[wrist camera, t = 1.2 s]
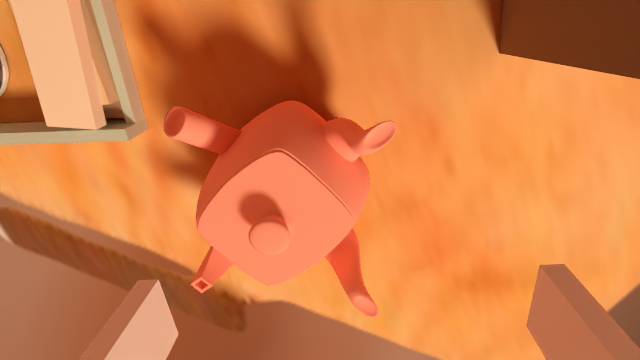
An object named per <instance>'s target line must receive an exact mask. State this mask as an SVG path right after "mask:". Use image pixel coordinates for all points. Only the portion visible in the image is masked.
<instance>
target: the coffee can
mask: <svg viewBox="0 0 640 360" xmlns="http://www.w3.org/2000/svg"><path fill="white" fill-rule="evenodd" d="M8 79H9V69H8V63H7V59H6V56H5V53H4V51H3V49H2V47H1V45H0V96H1V95H2V94H3V93H4V91H5V90H6V86H7V84H8Z"/></svg>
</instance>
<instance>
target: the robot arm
mask: <svg viewBox="0 0 640 360" xmlns="http://www.w3.org/2000/svg"><path fill="white" fill-rule="evenodd" d="M526 326H527V328H528V329H529V331H530V333H531V335H532V336H533V338H534V340H535V341H536V343H537V345H538V346H539V348H540V350H541V351H542V353H543V355H544V356H545V358H546V360H640V349H639V348H638V347H637V346H636V344H635V343H634V342H633V341H632V340H631V339H630V338H629V337H628V336H627V335H626V333H625V332H624V331H623V330H622V329H621V328H620V326H619V325H618V324H617V323H616V322H615V321H614V320H613V319H612V318H611V316H610V315H609V314H608V313H607V312H606V311H605V310H604V308H603V307H602V306H601V305H600V304H599V303H598V302H597V301H596V299H595V298H594V297H593V296H592V295H591V294H590V293H589V292H588V290H587V289H586V288H585V287H584V286H583V285H582V284H581V283H580V281H579V280H578V279H577V278H576V277H575V276H574V275H573V274H572V272H571V271H570V270H569V269H568V268H567V267H566V266H565V265H564V264H557V265H540V266H539V270H538V275H537V279H536V284H535V289H534V293H533V298H532V302H531V307H530V311H529V316H528V320H527V325H526ZM177 336H178V331H177V328H176V326H175V323H174V320H173V318H172V315H171V312H170V310H169V307H168V304H167V301H166V299H165V296H164V293H163V291H162V288H161V285H160V282H159V280H138V281H137V283H136V284H135V285H134V287H133V288H132V289H131V291H130V292H129V294H128V295H127V296H126V297H125V299H124V300H123V301H122V303H121V304H120V305H119V307H118V308H117V309H116V311H115V312H114V314H113V315H112V316H111V318H110V319H109V320H108V321H107V323H106V324H105V325H104V327H103V328H102V329H101V331H100V332H99V333H98V335H97V336H96V337H95V339H94V340H93V341H92V343H91V344H90V345H89V347H88V348H87V349H86V351H85V352H84V353H83V355H82V356H81V357H80V359H79V360H166V358H167V356H168V354H169V352H170V350H171V348H172V346H173V344H174V342H175V340H176V338H177Z"/></svg>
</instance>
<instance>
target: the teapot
mask: <svg viewBox="0 0 640 360" xmlns="http://www.w3.org/2000/svg"><path fill="white" fill-rule="evenodd" d="M396 131H397V124H396V123H395V122H393V121H385V122H382V123H379V124H377V125H375V126H373V127H371V128H369V129H367V130H363V129H362V128H361V127H360V126H359V125H358V124H357V123H355V122H353V121H352V120H349V119H346V118H336V119H333V120H330V121H328V122H327V121H325V120H324V119H323V118H322V117H321V116H320V115H319V114H317V113H316V112H315V111H313V110H312V109H311V108H310V107H308V106H307V105H305V104H303V103H301V102H299V101H285V102H282V103H279V104H277V105H275V106H273V107H271V108H269V109H268V110H266V111H264V112H263V113H261V114H260V115H258V116H257V117H255V118H254V119H252V120H251V121H250V122H249V123H247V124H246V125H245V126H244V127H242V128H241V129H240V130H238V129H236V128H233V127H231V126H228V125H226V124H223V123H221V122H218V121H216V120H213V119H211V118H209V117H206V116H204V115H201V114H199V113H196V112H194V111H192V110H189V109H187V108H184V107H182V106H179V105H178V106H174V107H172V108H171V109H170V110H169V112H168V113H167V115H166V117H165V120H164V132H165V134H166V135H167V136H168V137H171V138H174V139H176V140H179V141H182V142H185V143H188V144H191V145H194V146H197V147H199V148H202V149H205V150H208V151H211V152H214V153H217V154H219V156H218V157H217V159H216V161H215V162H214V164H213V166H212V168H211V169H210V171H209V173H208V175H207V177H206V179H205V181H204V184H203V186H202V188H201V191H200V195H199V199H198V203H197V211H196V229H197V232H198V233H199V234H200V236H202V237H203V238H204V239H205V240H206V241H207V242H208V243H209V244H210V245H211V247H210V249H209V251H208V253H207V255H206V257H205V258H204V260H203V262H202V264H201V266H200V268H199V270H198V272H197V273H196V275H195V277H194V279H193V281H192V283H191V284H190V285H192V286H193V287H194V288H196V289H197V290H198V291H200V292H201V293H202V292H204V291H205V290H207V289H208V288H210V287H211V286H213V284H214V283H215V282H216V281H217V280H218V279H219V278H220V277H221V276H222V275H223V274H224V273H225V272H226V271H227V270H228V269H229V268H230V267H231V266H232V265H233V264H235V265H236V266H238V267H239V268H240V269H242V270H243V271H244V272H246V273H247V274H249V275H250V276H252V277H253V278H254V279H256V280H258V281H259V282H261V283H263V284H265V285H277V284H281V283H283V282H286V281H288V280H290V279H292V278H294V277H295V276H297V275H299V274H300V273H302V272H304V271H305V270H307V269H308V268H310V267H311V266H313V265H314V264H316V263H317V262H319V261H320V260H321V259H322V258H323V257H325V258H326V259H327V260H328V261H329V263H330V264H331V266H332V267H333V269H334V270H335V272H336V274H337V276H338V278H339V280H340V282H341V284H342V286H343V288H344V290H345V292H346V294H347V295H348V297H349V298H350V300H351V302H352V303H353V304H354V306H355V307H356V308H357V309H358V310H359V311H361V312H362V313H363V314H365V315H366V316H369V317H371V318H376V317H378V315H379V311H378V308H377V306H376V304H375V303H374V301H373V300H372V298H371V297H370V295H369V294H368V292H367V290H366V288H365V285H364V282H363V279H362V274H361V263H360V250H359V244H358V240H357V237H356V234H355V232H354V230H353V228H352V227H353V226H354V224H355V223H356V221H357V219H358V217H359V215H360V213H361V211H362V210H363V208H364V205H365V203H366V201H367V197H368V192H369V186H370V178H369V171H368V169H367V167H366V165H365V163H364V162H363V161H362V159H361V158H360V157H359V156H361V155H367V154H370V153H373V152H375V151H377V150H379V149H381V148H382V147H383V146H385V145H386V144H387V143H388V142H389V141H390V140H391V139H392V138H393V137H394V135H395V134H396Z"/></svg>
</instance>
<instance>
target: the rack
mask: <svg viewBox="0 0 640 360" xmlns="http://www.w3.org/2000/svg"><path fill="white" fill-rule="evenodd" d="M8 3H9V5H10V7H11V9H12V12H13V14H14V16H15V19H16V22H17V26H18V29H19V32H20V36H21V39H22V43H23V46H24V50H25V53H26V56H27V60H28V63H29V67H30V70H31V74H32V77H33V80H34V84H35V87H36V91H37V94H38V98H39V101H40V104H41V108H42V111H43V115H44V118H45V122H25V123H0V145H12V144H44V143H75V142H106V141H129V140H131V139H132V138H134V137H136V136H137V135H139V134H140V133H142V132H144V131H145V130H147V129H148V126H147V122H146V119H145V115H144V111H143V107H142V104H141V100H140V96H139V92H138V89H137V85H136V81H135V78H134V74H133V70H132V66H131V63H130V59H129V55H128V52H127V48H126V44H125V40H124V37H123V33H122V29H121V25H120V22H119V18H118V14H117V11H116V7H115V3H114V0H8ZM105 118H125V119H107V120H105Z"/></svg>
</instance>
